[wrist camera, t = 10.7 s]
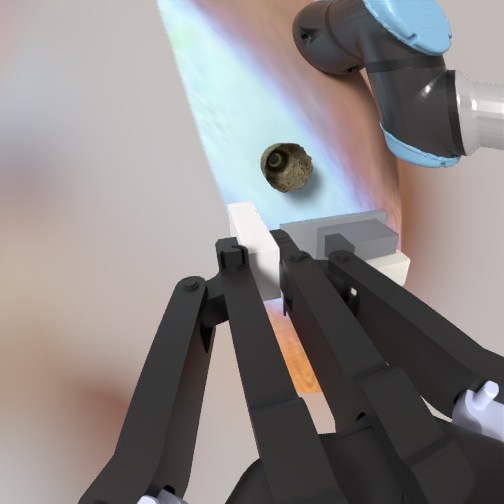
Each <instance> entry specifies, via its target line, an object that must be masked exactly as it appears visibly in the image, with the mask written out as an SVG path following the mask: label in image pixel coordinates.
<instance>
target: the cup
mask: <svg viewBox="0 0 504 504" xmlns="http://www.w3.org/2000/svg"><path fill="white" fill-rule="evenodd" d="M272 155H276V156H277V157H278V162H277V163H276V164H271V163H270V161H269V159H270V157H271V156H272ZM311 160H312V159H311V157H310V156H308V155H307V154H306V152H305V151H304V148H303V147H300V145H298V144H294V143H278V144H274V145H272V146H270V147H269V148H267V149H266V150H265V151H264V153H263V155H262V157H261V170H262V172H263V175H264V176H265V178H266V180H267V181H268V183H269V184H270V185H271V186H272V187H273V188H274V189H277V190H278V191H280V192H283V193H285V192H287V191H290V192H294V189H301V188H302V186H303V185H306V179H307V178H310V174H309V173H310V172H311V171H312V169H313V165H312V162H311Z"/></svg>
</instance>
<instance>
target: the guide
mask: <svg viewBox="0 0 504 504" xmlns="http://www.w3.org/2000/svg"><path fill="white" fill-rule="evenodd" d="M386 218H387V211H385V210H375V211H368V212H360V213H353V214H346V215H339V216H332V217H325V218H318V219H311V220H305V221H298V222H292V223H285V224H280V229H282V230H284V231H285V232H287V233H288V234H289V236H290V238H292V240H293V241H294V243H295V244H296V245H297V247H298V248H299V250H302V251H305V252H308V253H309V254H310V255H311V256H312V258H313V259H316V260H328V255H329V254H330V253H331V252H333V251H337V250H345V251H349V252H351V253H353V254H354V255H356V256H357V257H359V258H360V259H362V260H363V261H364V260H369V259H373V258H377V257H382V256H386V255H390V254H394V253H396V249H397V244H398V238H399V234H397V233H396V232H395V231H393V230H392V229H390V228H389V227H387V226H386ZM282 298H283V293H282Z"/></svg>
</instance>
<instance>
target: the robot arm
mask: <svg viewBox="0 0 504 504" xmlns="http://www.w3.org/2000/svg"><path fill="white" fill-rule="evenodd" d="M293 38H294V41H295V44H296V46H297V48H298V50H299V51H300V53H301V54H302V56H303V57H304V58H305V59H306V60H307V61H308V62H309V63H310V64H311V65H313V66H314V67H316V68H317V69H319V70H321V71H323V72H326V73H329V74H334V75H345V74H351V73H355V72H357V71H360V70H361V69H363V68H364V67H365V68H366V71H367V75H368V78H369V81H370V85H371V88H372V92H373V95H374V99H375V102H376V106H377V110H378V114H379V118H380V122H379V123H380V126H381V129H382V130H383V133H384V136H385V140H386V144H387V146H388V148H389V150H390V151H391V152H392V153H393V154H394V155H395V156H396V157H398V158H399V159H401V160H403V161H406V162H408V163H411V164H414V165H418V166H422V167H429V168H439V167H440V166H442V167H451V166H453V165H455V164H457V163H458V162H459V160H460V158H461V155H464V156H471V155H472V154H473V153H474V152H475V151H476V150H477V149H478V148H479V147H488V148H494V149H500V150H504V85H500V84H491V83H479V82H473V81H471V80H470V79H469V78H468V77H466V76H465V75H464V74H463V73H462V72H461V71H459V70H447V69H446V66H445V63H444V59H443V55H442V54H443V53H445V52H446V51H447V50H448V49H449V48H450V46H451V40H450V39H451V38H452V34H451V29H450V25H449V22H448V20H447V18H446V16H445V14H444V12H443V10H442V9H441V7H440V6H439V5H438V3H437V2H436V1H435V0H323V1H322V0H321V1H316V2H313V3H311V4H309V5H307V6H306V7H305V8H303V9H302V10H301V11H300V12H299V13H298V14H297V16H296V17H295V20H294V23H293ZM228 213H229V221H230V229H231V238H225V239H218V241H217V242H216V244H215V246H216V252H217V258H218V265H219V272H218V274H217V275H216V276H215V277H213V278H212V279H210V280H207V281H205V279H204V278H201V277H199V276H191V277H187V278H184V279H182V280H181V281H179V282H178V284H177V285H176V287H175V290H174V291H173V294H172V296H171V299H170V301H169V303H168V306H167V308H166V310H165V313H164V315H163V318H162V320H161V323H160V325H159V328H158V330H157V333H156V335H155V338H154V340H153V343H152V346H151V348H150V351H149V353H148V356H147V358H146V361H145V364H144V367H143V369H142V372H141V375H140V377H139V380H138V383H137V386H136V388H135V392H134V394H133V397H132V400H131V403H130V406H129V409H128V412H127V415H126V418H125V421H124V424H123V427H122V430H121V433H120V436H119V440H118V443H117V446H116V449H115V452H114V455H113V457H112V458H111V459H110V461H109V462H108V463H107V465H106V466H105V467H104V468H103V470H102V471H101V472H100V474H99V475H98V476H97V478H96V479H95V480H94V481H93V483H92V484H91V485H90V487H89V488H88V489H87V491H86V492H85V493H84V495H83V496H82V497H81V498H80V500H79V502H78V504H188V503H187V502H186V501H184V500H183V496H184V494H185V491H186V488H187V486H188V482H189V477H190V473H191V467H192V461H193V454H194V449H195V443H196V437H197V431H198V425H199V419H200V413H201V407H202V402H203V396H204V391H205V385H206V380H207V374H208V369H209V364H210V358H211V352H212V348H213V342H214V337H215V332H216V325H218V324H221V323H223V322H225V321H227V320H229V324H230V329H231V334H232V339H233V344H234V349H235V354H236V358H237V363H238V367H239V372H240V377H241V381H242V385H243V390H244V394H245V399H246V403H247V407H248V412H249V416H250V420H251V423H252V428H253V432H254V436H255V440H256V445H257V449H258V453H259V457H260V458H259V459H257V460H256V461H255V462H253V463H252V464H251V465H250V466H249V467H248V468H247V470H246V471H245V472H244V473H243V475H242V476H241V478H240V480H239V482H238V483H237V485H236V486H235V488H234V490H233V491H232V493H231V495H230V496H229V498H228V499H227V501H226V503H225V504H504V357H503V356H500V355H498V354H496V353H494V352H491V351H489V350H487V349H484V348H482V347H481V346H480V345H479V344H478V343H476V342H475V341H474V340H473V339H471V338H470V337H469V336H467V335H466V334H465V333H464V332H462V331H461V330H460V329H459V328H457V327H456V326H455V325H453V324H452V323H451V322H449V321H448V320H447V319H445V318H444V317H443V316H441V315H440V314H439V313H437V312H436V311H435V310H433V309H432V308H431V307H429V306H428V305H427V304H425V303H424V302H422V301H421V300H420V299H418V298H417V297H415V296H414V295H413V294H411V293H410V292H408V291H407V290H406V289H404V288H403V287H401V286H400V285H399V284H397V283H396V282H394V281H393V280H391V279H390V278H389V277H387V276H386V275H384V274H383V273H381V272H380V271H378V270H377V269H375V268H374V267H372V266H371V265H369V264H368V263H366V262H365V261H363V260H362V259H360V258H359V257H357V256H356V255H354V254H353V253H351V252H349V251H345V250H337V251H333V252H331V253H330V254H329V255H328V260H316V259H313V258H312V256H311V255H310V254H309V253H308V252H305V251H302V250H299V248H298V247H297V245H296V244H295V243H294V241H293V240H292V238H290V236H289V234H288V233H287V232H285V231H284V230H282V229H278V230H271V231H269V230H268V229H267V227H266V225H265V224H264V222H263V220H262V219H261V217H260V215H259V214H258V212H257V210H256V209H255V207H254V205H253V204H252V202H251V201H246V202H239V203H232V204H228ZM352 288H353V289H354V290H356V295H354V294H352V293H351V291H352ZM281 291H282V293H283V313H284V316H286V311H287V313H288V315H289V317H290V319H291V321H292V324H293V326H294V328H295V330H296V333H297V335H298V337H299V339H300V342H301V344H302V346H303V349H304V351H305V353H306V355H307V358H308V360H309V362H310V364H311V367H312V369H313V371H314V373H315V376H316V378H317V380H318V383H319V385H320V387H321V389H322V392H323V394H324V396H325V398H326V401H327V403H328V405H329V408H330V410H331V412H332V414H333V417H334V420H335V429H336V433H326V434H318V433H317V431H316V428H315V425H314V423H313V420H312V418H311V415H310V413H309V410H308V408H307V405H306V403H305V401H304V400H303V398H302V397H299V396H298V395H297V392H296V390H295V387H294V384H293V382H292V379H291V376H290V374H289V371H288V368H287V366H286V363H285V360H284V358H283V355H282V352H281V350H280V347H279V344H278V342H277V339H276V336H275V333H274V331H273V328H272V325H271V323H270V320H269V317H268V315H267V312H266V309H265V306H264V304H263V301H267V300H272V299H277V298H281ZM386 363H387V364H388V365H387V364H386ZM420 395H421V396H422V397H423V398H424V399H425V400H426V401H427V402H428V403H429V404H430V405H431V406H433V407H434V408H435V409H436V410H438V411H439V412H441V413H442V414H444V415H445V416H447V417H449V418H451V419H453V420H452V422H451V423H450V422H448V421H445V420H443V419H440V418H438V417H435V416H433V415H432V414H431V412H430V410H429V409H428V407H427V405H426V404H425V402H424V401H423V399H422V398H421V396H420Z"/></svg>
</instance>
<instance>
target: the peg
mask: <svg viewBox="0 0 504 504" xmlns="http://www.w3.org/2000/svg"><path fill="white" fill-rule="evenodd" d="M364 261H365V262H366V263H368V264H369V265H371V266H372V267H374V268H375V269H377V270H378V271H380V272H381V273H383V274H384V275H386V276H387V277H389V278H390V279H391V280H393V281H394V282H396V283H397V284H399V285H400V286H402V285H404V284H405V280H406V276H407V272H408V268H409V264H410V259H409V258H408V257H407V256H405V255H404V254H403V253H402V252H400V251H399V250H398V249H396V253H394V254H390V255H386V256H382V257H377V258H373V259H369V260H364ZM351 293H352V294H354V295H356V290H354V289H353V288H352V291H351Z"/></svg>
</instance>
